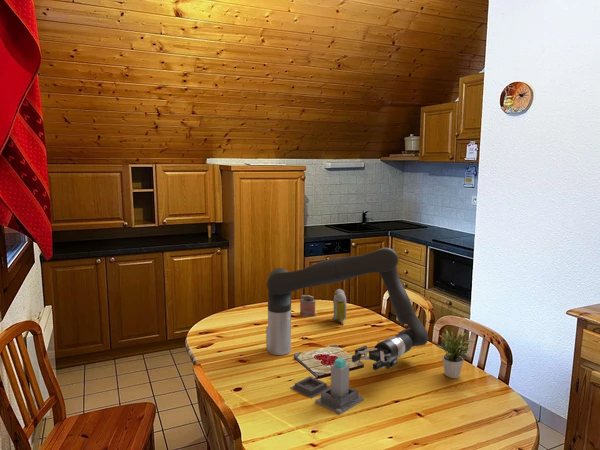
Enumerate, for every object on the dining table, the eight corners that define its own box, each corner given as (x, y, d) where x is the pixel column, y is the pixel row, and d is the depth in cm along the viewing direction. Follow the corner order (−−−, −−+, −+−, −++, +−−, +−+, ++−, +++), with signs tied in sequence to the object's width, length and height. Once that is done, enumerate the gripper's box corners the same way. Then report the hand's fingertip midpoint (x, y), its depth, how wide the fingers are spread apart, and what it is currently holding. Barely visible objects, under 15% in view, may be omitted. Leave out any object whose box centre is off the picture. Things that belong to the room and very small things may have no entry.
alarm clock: (346, 326, 214) (346, 294, 212) (331, 326, 214) (331, 294, 212) (344, 317, 226) (344, 287, 224) (330, 317, 226) (330, 287, 224)
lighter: (316, 314, 230) (316, 295, 228) (314, 316, 227) (314, 297, 225) (301, 312, 232) (301, 293, 231) (298, 315, 229) (298, 295, 228)
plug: (330, 399, 147) (331, 360, 145) (338, 394, 149) (339, 356, 148) (340, 403, 144) (341, 363, 142) (348, 398, 147) (349, 359, 145)
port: (315, 403, 146) (315, 392, 145) (339, 389, 154) (339, 380, 154) (339, 415, 139) (340, 404, 138) (363, 400, 147) (364, 390, 147)
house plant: (468, 389, 155) (471, 343, 153) (427, 379, 162) (429, 334, 160) (477, 373, 167) (480, 330, 165) (438, 364, 174) (440, 322, 172)
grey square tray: (289, 388, 155) (289, 383, 155) (309, 378, 162) (309, 373, 162) (311, 399, 148) (311, 394, 148) (331, 388, 155) (331, 383, 155)
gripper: (373, 334, 170) (346, 346, 158) (408, 344, 160) (381, 359, 149) (373, 353, 171) (345, 367, 159) (407, 365, 161) (380, 381, 150)
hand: (363, 363), depth 154 cm, fingers open, 8 cm apart
